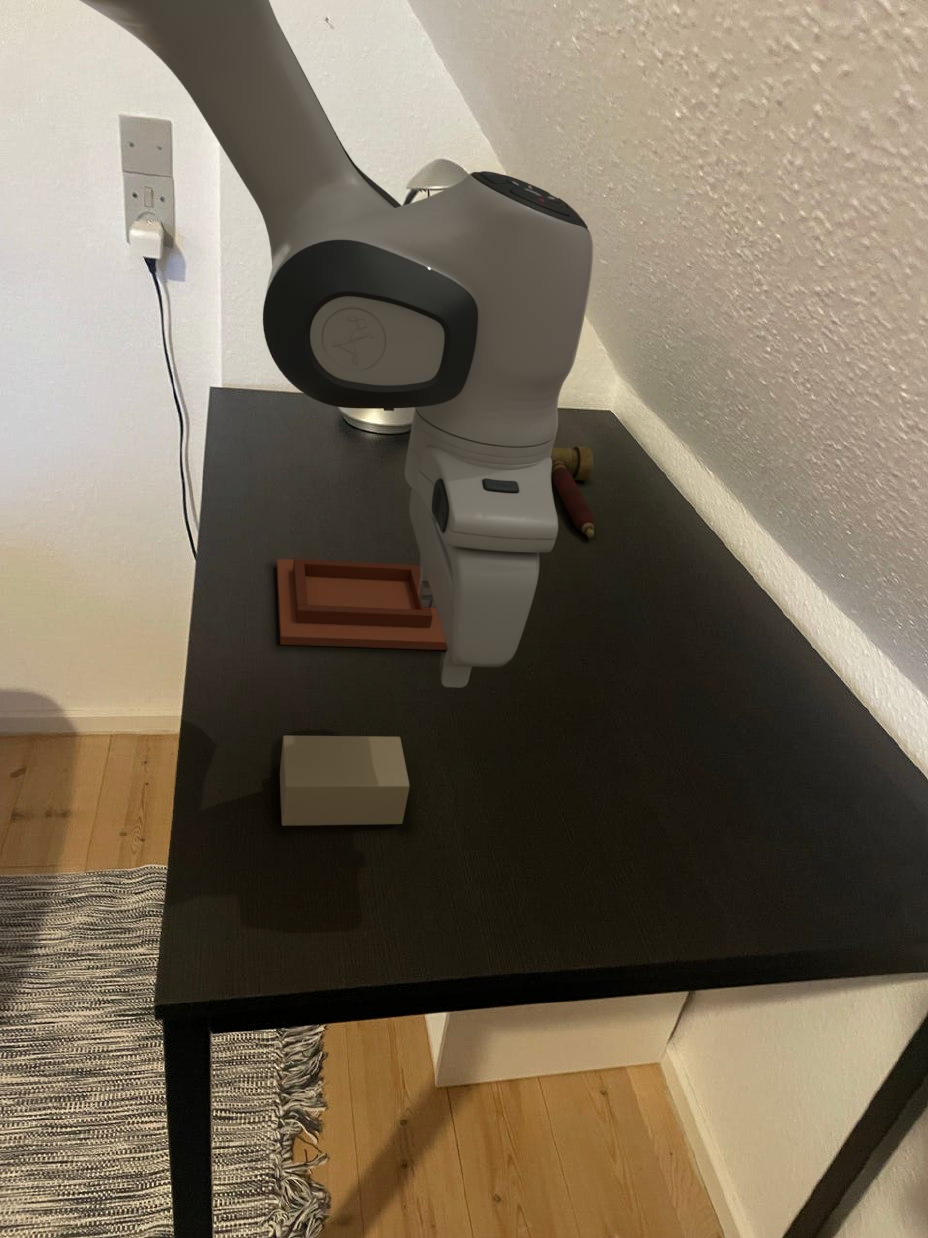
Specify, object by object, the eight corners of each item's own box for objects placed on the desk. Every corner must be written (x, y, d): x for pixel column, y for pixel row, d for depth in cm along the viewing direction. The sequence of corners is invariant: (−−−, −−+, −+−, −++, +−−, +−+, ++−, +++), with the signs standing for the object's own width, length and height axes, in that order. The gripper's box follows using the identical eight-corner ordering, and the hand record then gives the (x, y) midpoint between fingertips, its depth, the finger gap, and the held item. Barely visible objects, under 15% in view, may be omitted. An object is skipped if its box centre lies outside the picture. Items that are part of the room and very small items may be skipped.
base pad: (280, 644, 88) (282, 622, 86) (276, 566, 99) (278, 546, 98) (447, 650, 92) (451, 629, 90) (425, 574, 103) (429, 554, 102)
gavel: (634, 522, 115) (557, 517, 113) (623, 553, 118) (548, 548, 116) (587, 441, 132) (519, 435, 129) (579, 470, 134) (511, 464, 132)
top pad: (281, 826, 69) (285, 786, 67) (279, 774, 74) (283, 735, 71) (402, 824, 71) (410, 786, 69) (393, 774, 76) (400, 736, 74)
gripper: (405, 393, 67) (379, 561, 74) (457, 535, 50) (417, 733, 58) (491, 402, 68) (457, 566, 76) (568, 543, 52) (515, 734, 59)
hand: (440, 639), depth 67 cm, fingers open, 8 cm apart
